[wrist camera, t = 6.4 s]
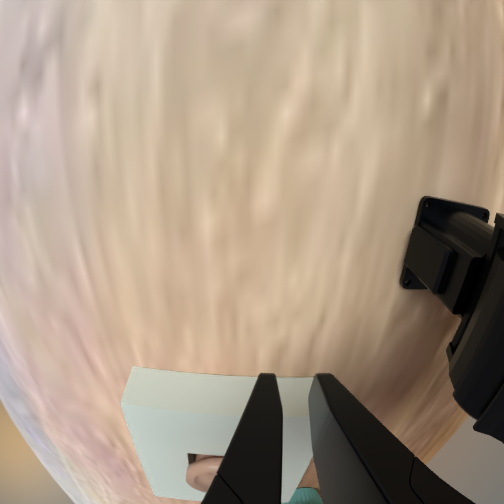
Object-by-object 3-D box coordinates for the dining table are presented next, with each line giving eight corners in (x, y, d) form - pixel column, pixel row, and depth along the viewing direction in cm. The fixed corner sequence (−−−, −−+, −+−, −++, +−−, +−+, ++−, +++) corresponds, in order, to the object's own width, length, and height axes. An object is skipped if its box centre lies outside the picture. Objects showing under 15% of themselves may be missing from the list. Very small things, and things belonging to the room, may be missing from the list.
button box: (321, 377, 24) (331, 414, 20) (285, 474, 31) (288, 502, 27) (133, 366, 23) (120, 403, 19) (158, 468, 30) (154, 495, 26)
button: (261, 431, 25) (264, 468, 21) (254, 463, 27) (256, 495, 24) (187, 427, 24) (183, 464, 21) (191, 460, 27) (188, 492, 23)
